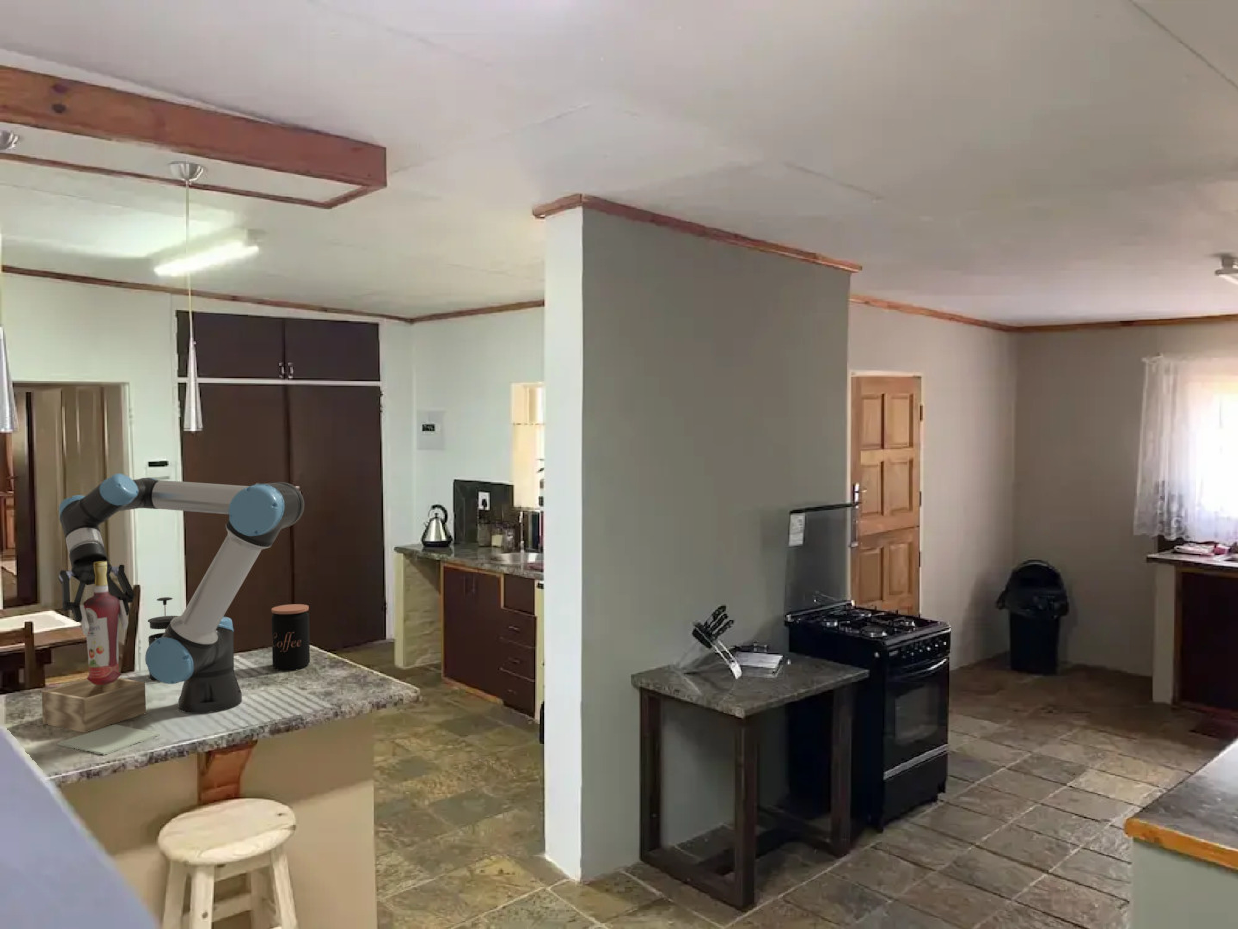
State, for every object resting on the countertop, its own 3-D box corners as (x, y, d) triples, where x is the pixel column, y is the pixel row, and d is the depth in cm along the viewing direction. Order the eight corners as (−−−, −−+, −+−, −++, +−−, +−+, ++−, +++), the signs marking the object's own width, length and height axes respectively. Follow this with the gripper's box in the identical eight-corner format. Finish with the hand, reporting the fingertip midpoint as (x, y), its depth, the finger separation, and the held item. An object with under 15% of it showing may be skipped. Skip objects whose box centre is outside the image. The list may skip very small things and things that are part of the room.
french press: (142, 676, 265) (139, 598, 264) (175, 669, 272) (173, 593, 271) (159, 683, 258) (157, 603, 256) (192, 676, 265) (190, 598, 264)
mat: (159, 735, 214) (159, 733, 214) (104, 755, 201) (103, 753, 201) (114, 726, 221) (114, 724, 221) (57, 744, 208) (57, 742, 208)
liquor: (129, 679, 213) (125, 560, 212) (102, 687, 206) (98, 565, 205) (106, 676, 216) (102, 559, 215) (78, 685, 209) (74, 563, 208)
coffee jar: (265, 670, 271) (264, 610, 270) (284, 661, 281) (283, 603, 280) (298, 672, 269) (297, 611, 268) (316, 662, 279) (315, 604, 279)
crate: (145, 713, 231) (145, 682, 230) (85, 732, 216) (84, 699, 216) (104, 705, 238) (103, 675, 237) (42, 723, 223) (41, 691, 223)
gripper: (130, 556, 228) (151, 631, 217) (35, 565, 215) (53, 645, 203) (135, 537, 224) (157, 612, 213) (39, 545, 210) (57, 626, 199)
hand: (106, 628), depth 208 cm, fingers closed on liquor, 7 cm apart
